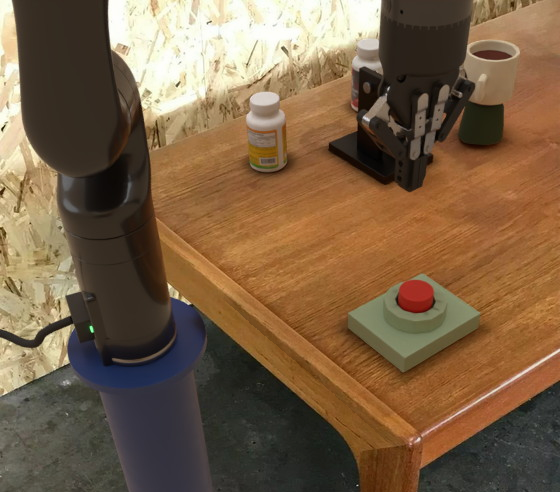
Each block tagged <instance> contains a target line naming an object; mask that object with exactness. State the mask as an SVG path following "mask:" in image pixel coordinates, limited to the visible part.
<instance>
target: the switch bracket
mask: <svg viewBox="0 0 560 492" xmlns="http://www.w3.org/2000/svg"><path fill="white" fill-rule="evenodd" d="M382 76H383V75H381V74H379V73H377V72H375V71H373V70H371V69H369V68H367V67H365V66H364V67H361V68H359V89H358V112H359V111H360V110H362V109H364V110H366V111H368V112H369V110H370V109H371V108H372V106H373V105H374V104H375V103H376V101H377V100H378V99H379V97H378V87H379V85H380V82H381V80H382ZM358 112H357V113H358ZM388 116H389V121H390V114H389V112H388ZM356 126H357V127H356V128H357V129H356V130H355V131H353V132H351V133H348V134H346V135H344V136H341V137H339V138H337V139H334V140H332V141H329V142H328V151H329V152H330V153H333V154H334V155H335V156H337V157H339V158H340V159H342V160H344V161H345V162H347V163H348V164H350V165H352V166H354V167H355V168H357V169H358V170H360V171H361V172H363V173H365V174H367V175H368V176H369V177H371V178H373V180H376V181H378V182H379V183H381V184H382V185H387V184H389V183H391V182H393V181H395V179H394V177H395V164H396V158H394V157H392V156H391V155H389V154H387V153H386V152H384V151H382V150H381V149H380V148H379V147H378V146H377V145H376V144H375V142H374V141H373V140H372V139H371V138H370V136H369V135H368V134H367V133H366V131H365V130H364V129H363V128H362V127H361V125H360V124H359V123H358V122H357V124H356ZM389 128H390V129H391V131H392V132H393V129H392V128H391V127H389ZM406 141H407V139H406ZM433 162H434V154H433V153H432V152H430V153H429V154H428V159H427V165H429V164H431V163H433Z"/></svg>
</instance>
